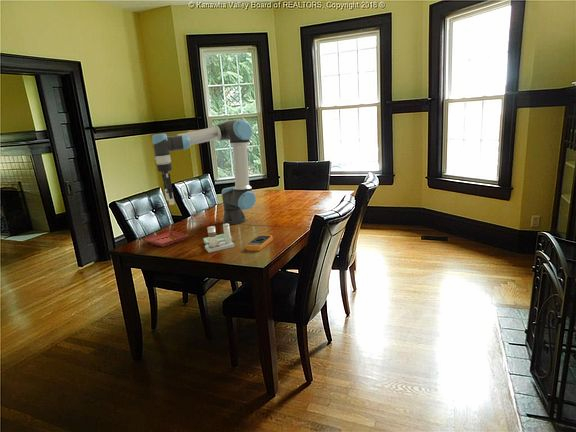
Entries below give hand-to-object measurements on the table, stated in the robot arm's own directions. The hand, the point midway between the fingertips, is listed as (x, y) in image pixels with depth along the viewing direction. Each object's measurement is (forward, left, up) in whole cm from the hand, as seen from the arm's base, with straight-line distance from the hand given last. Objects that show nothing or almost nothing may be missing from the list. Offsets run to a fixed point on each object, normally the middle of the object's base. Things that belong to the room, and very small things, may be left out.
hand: (170, 202), depth 205 cm
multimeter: (-37, +32, -25) cm, 55 cm away
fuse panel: (-18, +21, -24) cm, 37 cm away
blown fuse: (-15, +21, -24) cm, 36 cm away
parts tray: (-20, +11, -24) cm, 34 cm away
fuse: (-23, +21, -24) cm, 40 cm away
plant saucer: (+4, -11, -25) cm, 28 cm away
